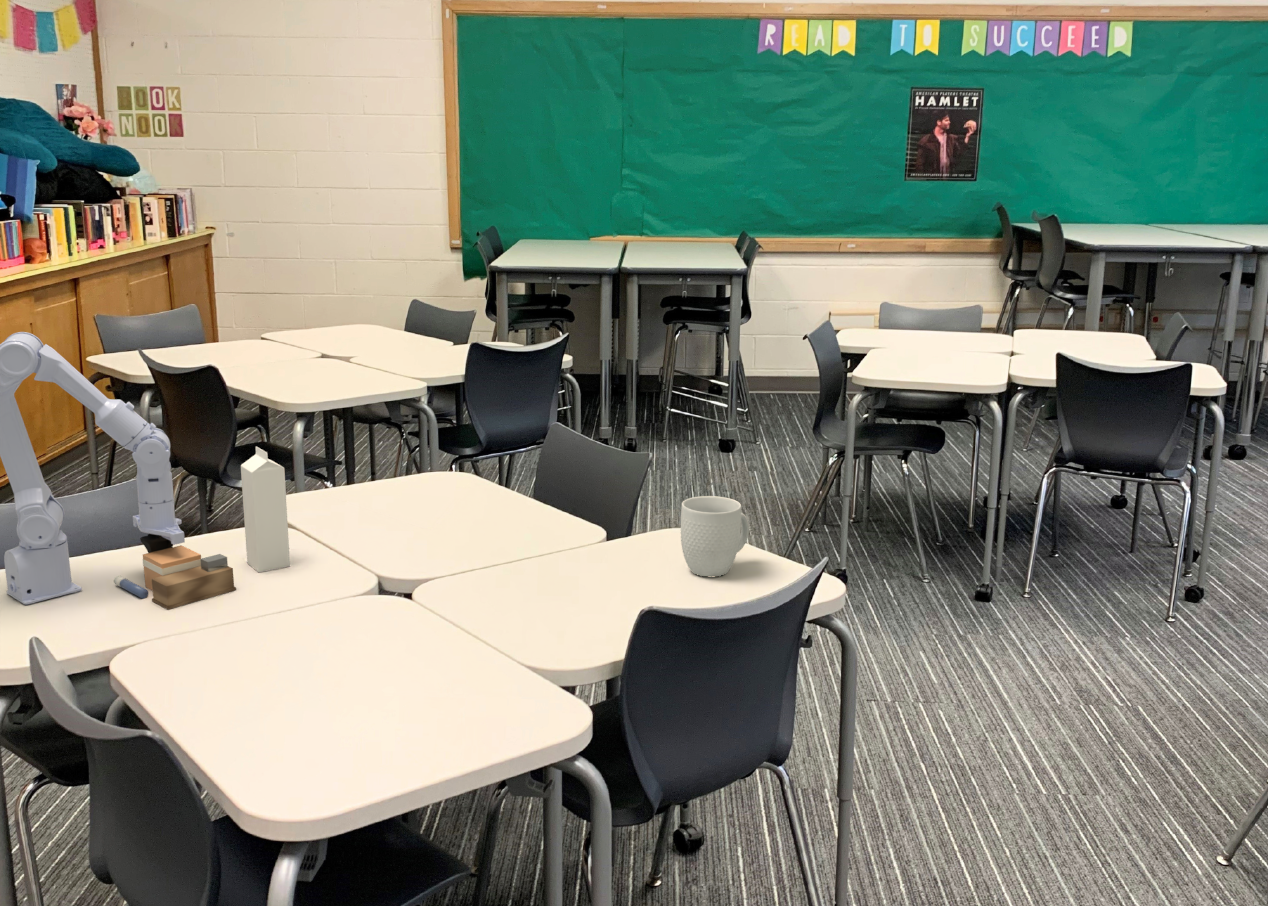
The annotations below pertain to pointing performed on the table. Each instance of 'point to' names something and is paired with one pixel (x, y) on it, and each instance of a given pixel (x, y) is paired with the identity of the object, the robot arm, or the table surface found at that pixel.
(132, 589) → the marker
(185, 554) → the carton
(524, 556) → the table surface
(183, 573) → the podium
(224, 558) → the eraser
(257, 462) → the milk
